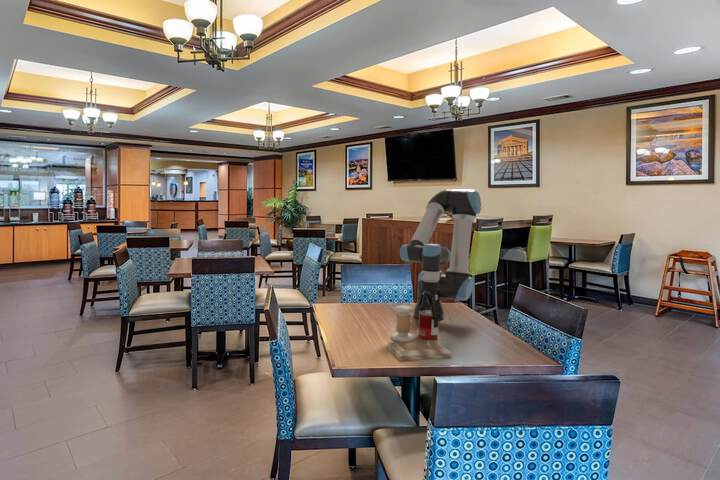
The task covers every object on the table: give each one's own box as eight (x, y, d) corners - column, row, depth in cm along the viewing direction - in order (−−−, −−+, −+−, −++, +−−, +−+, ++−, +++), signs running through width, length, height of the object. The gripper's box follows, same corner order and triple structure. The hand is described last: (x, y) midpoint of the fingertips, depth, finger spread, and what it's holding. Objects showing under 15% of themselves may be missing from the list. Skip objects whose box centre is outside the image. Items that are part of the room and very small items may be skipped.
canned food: (437, 341, 185) (438, 315, 184) (417, 339, 187) (418, 313, 186) (437, 335, 193) (438, 310, 192) (419, 334, 194) (420, 309, 194)
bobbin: (409, 334, 194) (410, 304, 193) (418, 341, 185) (419, 310, 184) (387, 335, 192) (388, 305, 191) (395, 342, 182) (396, 311, 181)
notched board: (434, 344, 181) (435, 340, 180) (451, 357, 166) (451, 352, 166) (387, 347, 176) (387, 342, 175) (400, 360, 161) (400, 355, 161)
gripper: (411, 276, 199) (409, 322, 201) (434, 286, 175) (431, 339, 176) (427, 275, 201) (425, 322, 202) (451, 285, 177) (449, 338, 178)
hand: (428, 330), depth 189 cm, fingers open, 13 cm apart
